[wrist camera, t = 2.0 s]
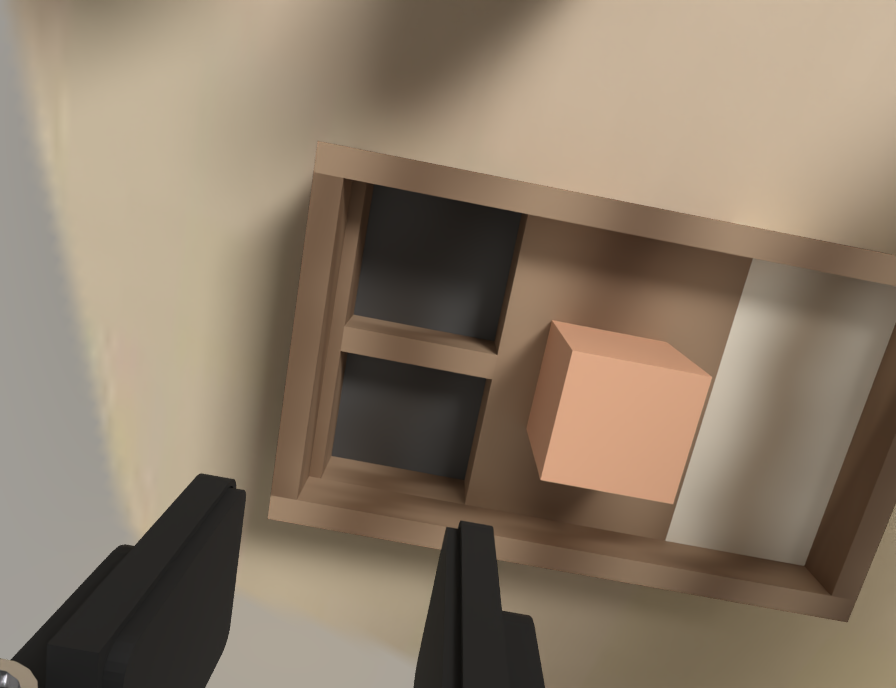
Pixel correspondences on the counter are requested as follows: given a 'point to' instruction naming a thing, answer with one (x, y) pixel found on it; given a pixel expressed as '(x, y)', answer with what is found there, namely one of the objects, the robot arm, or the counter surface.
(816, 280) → the box
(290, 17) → the counter surface
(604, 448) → the block
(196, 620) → the robot arm
